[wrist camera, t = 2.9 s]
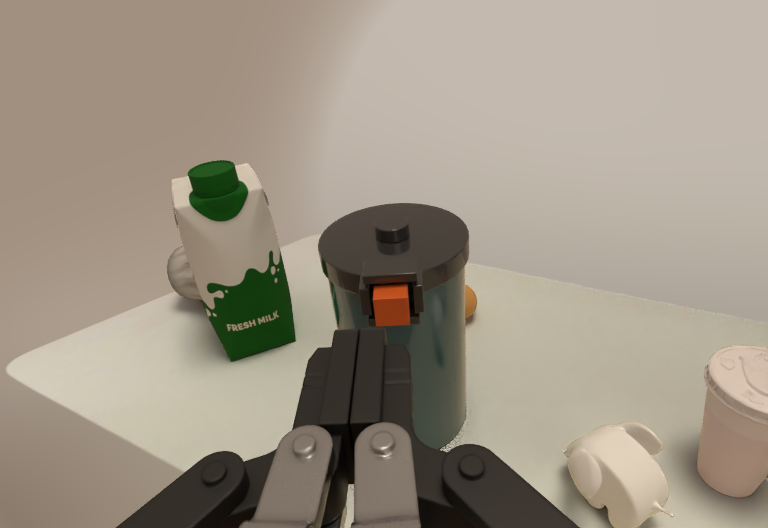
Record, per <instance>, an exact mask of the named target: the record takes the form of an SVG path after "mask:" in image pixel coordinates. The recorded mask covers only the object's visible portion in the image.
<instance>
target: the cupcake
mask: <svg viewBox="0 0 768 528" xmlns="http://www.w3.org/2000/svg"><path fill="white" fill-rule="evenodd" d="M167 273H168V278H169V281H170V283H171V285H172V287H173V289H174V290H175V291H176V292H177V293H178V294H179V295H181V296H183V297H185V298H190V299H200V300H202V298H201V296H200V293H199V290H198V287H197V284H196V281H195V279H194V276H193V273H192V270H191V267H190V264H189V261H188V259H187V256H186V253H185V250H184V247H183V246H181V247H179V248H177V249H176V250H175V251H174V252H173V253H172V254H171V256H170V258H169V260H168V266H167Z"/></svg>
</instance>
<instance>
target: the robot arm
mask: <svg viewBox="0 0 768 528" xmlns="http://www.w3.org/2000/svg"><path fill="white" fill-rule="evenodd" d="M348 484H354V522H352V524H351V528H579V527H578V526H577V525H576V524H575V523H574V522H573V521H571V520H570V519H569V518H568V517H567V516H566V515H564V514H563V513H562V512H561V511H560V510H559V509H557V508H556V507H555V506H554V505H553V504H552V503H551V502H549V501H548V500H547V499H546V498H545V497H544V496H542V495H541V494H540V493H539V492H538V491H537V490H536V489H534V488H533V487H532V486H531V485H530V484H529V483H527V482H526V481H525V480H524V479H523V478H522V477H521V476H519V475H518V474H517V473H516V472H515V471H514V470H512V469H511V468H510V467H509V466H508V465H507V464H506V463H504V462H503V461H502V460H501V459H500V458H499V457H497V456H496V455H495V454H494V453H493V452H491V451H490V450H489V449H487V448H485V447H482V446H480V445H475V444H464V445H460V446H457V447H455V448H453V449H452V450H450V451H449V452H448V453H447V452H444V451H440V450H436V449H433V448H431V447H429V446H427V445H425V444H424V443H422V442H421V441H420V440H419V439H418V438H417V436H416V435H415V433H414V396H413V381H412V369H411V357H410V354H409V352H408V351H407V349H406V348H405V346H404V344H388V345H387V336H386V329H385V327H381V328H362V329H361V330H360V329H344V330H335V332H334V336H333V342H332V347H328V348H318V349H317V350H316V351H315V353H314V354H313V355H312V356H311V358H310V359H309V360H308V364H307V369H306V373H305V377H304V382H303V388H302V390H301V394H300V399H299V403H298V407H297V412H296V416H295V420H294V425H293V428H292V431H290V432H289V433H287V434H286V435H285V436H284V437H283V438H282V440H281V441H280V443H279V445H278V448H277V449H276V450H274V451H272V452H270V453H268V454H266V455H263V456H260V457H257V458H254V459H251V460H248V461H245V462H243V460H242V458H241V457H240V456H239V455H237V454H236V453H233V452H229V451H221V452H216V453H213V454H210V455H208V456H206V457H204V458H203V459H201V460H200V461H199V462H197V463H196V464H195V465H194V466H192V467H191V468H190V469H189V470H187V471H186V472H185V473H184V474H182V475H181V476H180V477H179V478H177V479H176V480H175V481H174V482H172V483H171V484H170V485H169V486H167V487H166V488H165V489H164V490H163V491H161V492H160V493H159V494H158V495H156V496H155V497H154V498H152V499H151V500H150V501H149V502H148V503H146V504H145V505H144V506H142V507H141V508H140V509H139V510H137V511H136V512H135V513H134V514H132V515H131V516H130V517H129V518H127V519H126V520H125V521H124V522H122V523H121V524H120V525H119V526H117V527H116V528H344V526H345V521H346V515H347V507H346V501H347V491H348Z"/></svg>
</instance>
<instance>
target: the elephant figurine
mask: <svg viewBox="0 0 768 528" xmlns="http://www.w3.org/2000/svg"><path fill="white" fill-rule="evenodd" d="M662 448H663V445H662V443H661V441H660V440H659V438H658V437H657V436H656V435H655V434H654V433H653V432H652V431H651V430H650V429H649V428H647V427H646V426H644V425H643V424H640V423H637V422H625V423H621V424H619V425H616V426H611V425H604V426H600V427H598V428H596V429H594V430H593V431H592V432H590V433H589V434H587V435H585V436H583V437H581V438H579V439H577V440H575V441H574V442H572V443H571V444H570V445H569V446H568V447H567V451H566V452H565V451H564V450H563V449H562V450H563V452H564V454H565V455H566V456H567V457H569V459H568V468H569V472H570V475H571V477H572V479H573V481H574V483H575V485H576V487H577V488H578V490H579V491H580V493H581V494H582V495H583V496H584V497H585V498H586V499H587V500H588V502H589V504H590V505H591V506H593V507H595V508H598V509H601V508H603V507H604V506H606V507H607V509H608V518H609V521H610V523H611V525H612V526H613V527H614V528H637V527H639V526H640V525H641V524H642V523H643V522H644V521H645V520H646V519H648V518H649V517H650V516H652V515H654V514H656V513H657V512H659V511H662V512H665V513H666V514H669V515H670V516H671V517H674V514H672V513H668V512H667V511H665V510H664V509H663V508H662V507H663V506H664V504H665V503H666V501H667V499H668V495H669V488H668V483H667V480H666V477H665V475H664V473H663V471H662V470H661V468H660V466H659V465H658V464H657V462H656V461H655V460H654V458H653V457H652V456H651V455H654V454H657V453H658V452H659V451H661V450H662Z"/></svg>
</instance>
